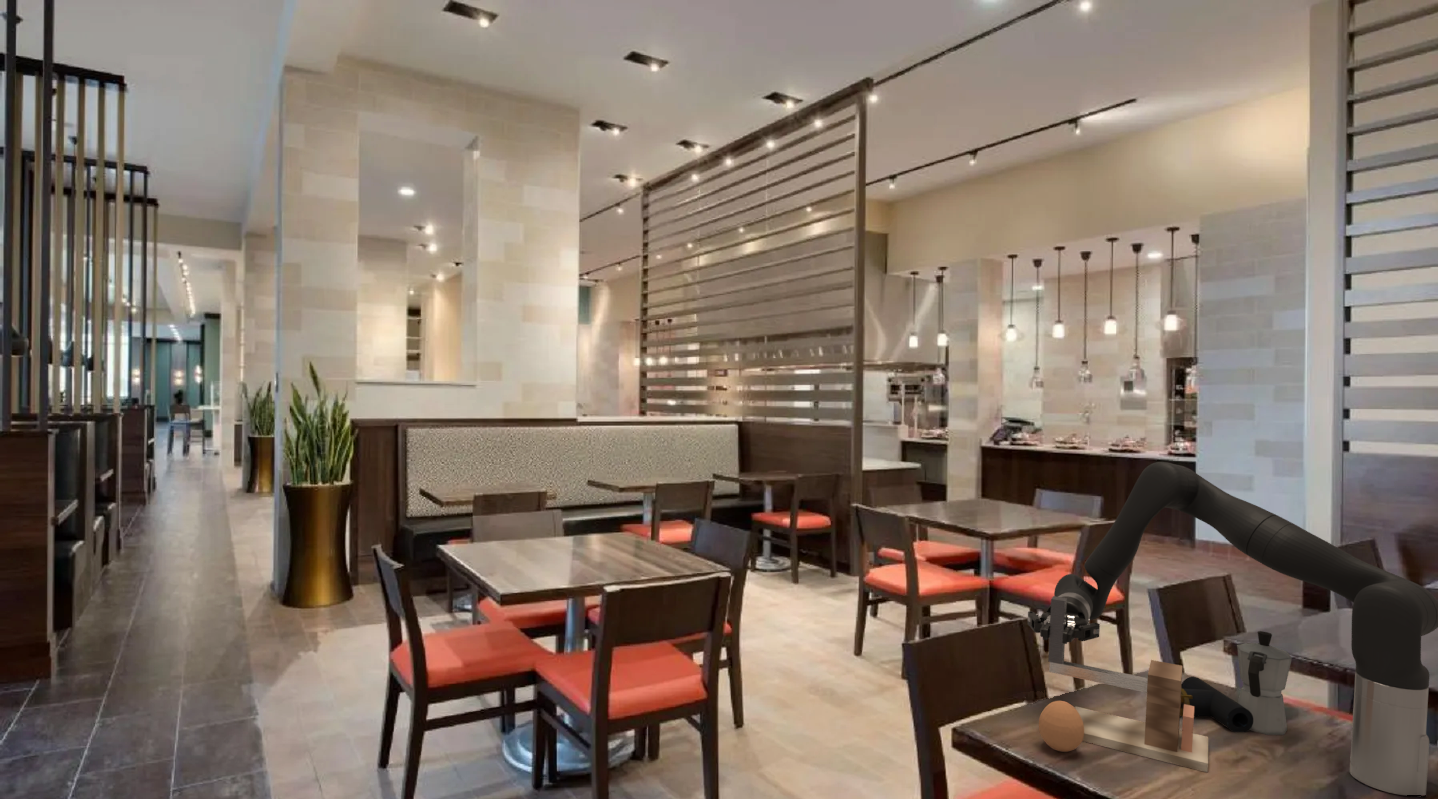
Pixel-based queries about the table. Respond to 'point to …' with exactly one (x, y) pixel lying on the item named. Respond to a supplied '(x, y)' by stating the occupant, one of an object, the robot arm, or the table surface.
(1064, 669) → the gray l-shaped bracket
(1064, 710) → the egg
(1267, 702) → the coffee maker
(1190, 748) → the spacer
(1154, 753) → the block
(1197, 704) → the pipe connector
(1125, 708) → the table surface
